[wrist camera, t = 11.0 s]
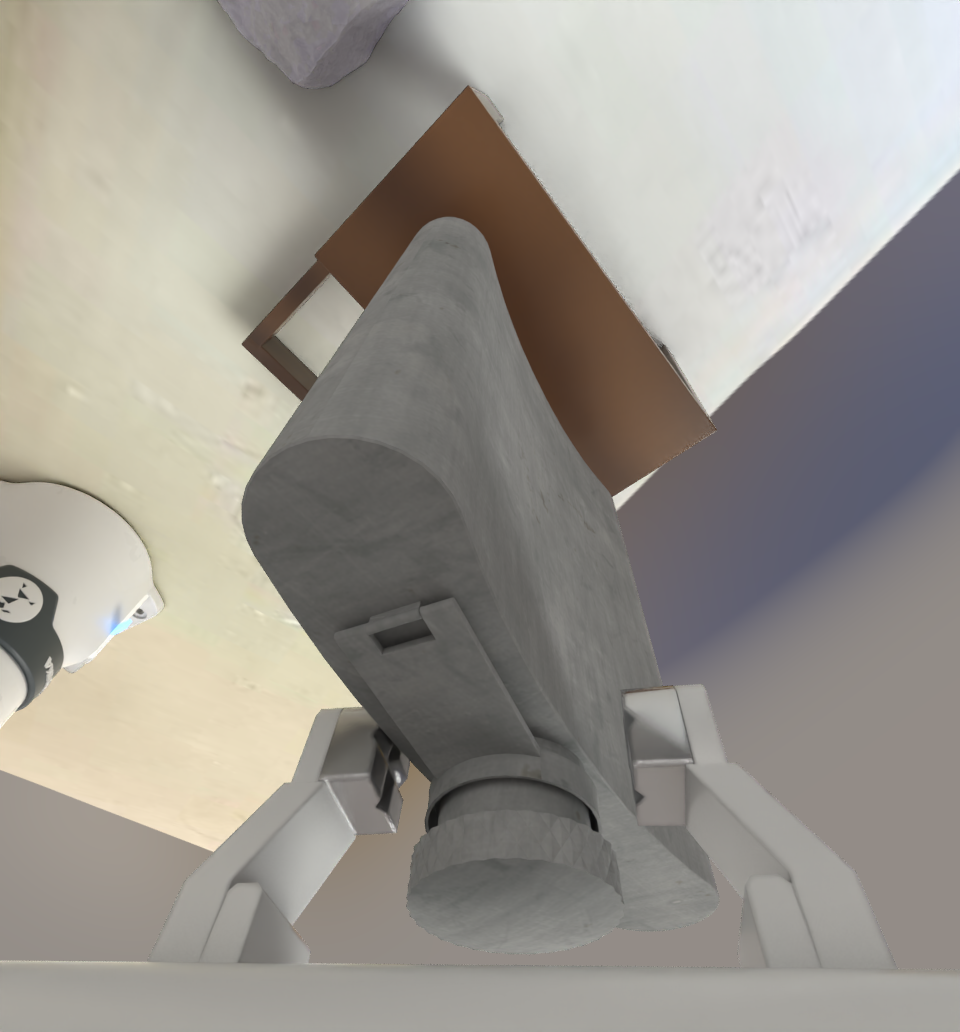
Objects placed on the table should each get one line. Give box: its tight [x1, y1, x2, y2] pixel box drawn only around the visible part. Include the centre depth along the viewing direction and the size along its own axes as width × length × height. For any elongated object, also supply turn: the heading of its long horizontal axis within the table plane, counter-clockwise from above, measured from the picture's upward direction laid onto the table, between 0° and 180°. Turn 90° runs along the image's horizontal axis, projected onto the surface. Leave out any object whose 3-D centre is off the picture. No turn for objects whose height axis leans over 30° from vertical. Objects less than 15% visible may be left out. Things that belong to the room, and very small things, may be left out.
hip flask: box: [242, 217, 719, 954], centre depth 18 cm, size 16×4×20 cm, turn 28°
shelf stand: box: [242, 85, 717, 497], centre depth 37 cm, size 22×21×11 cm
